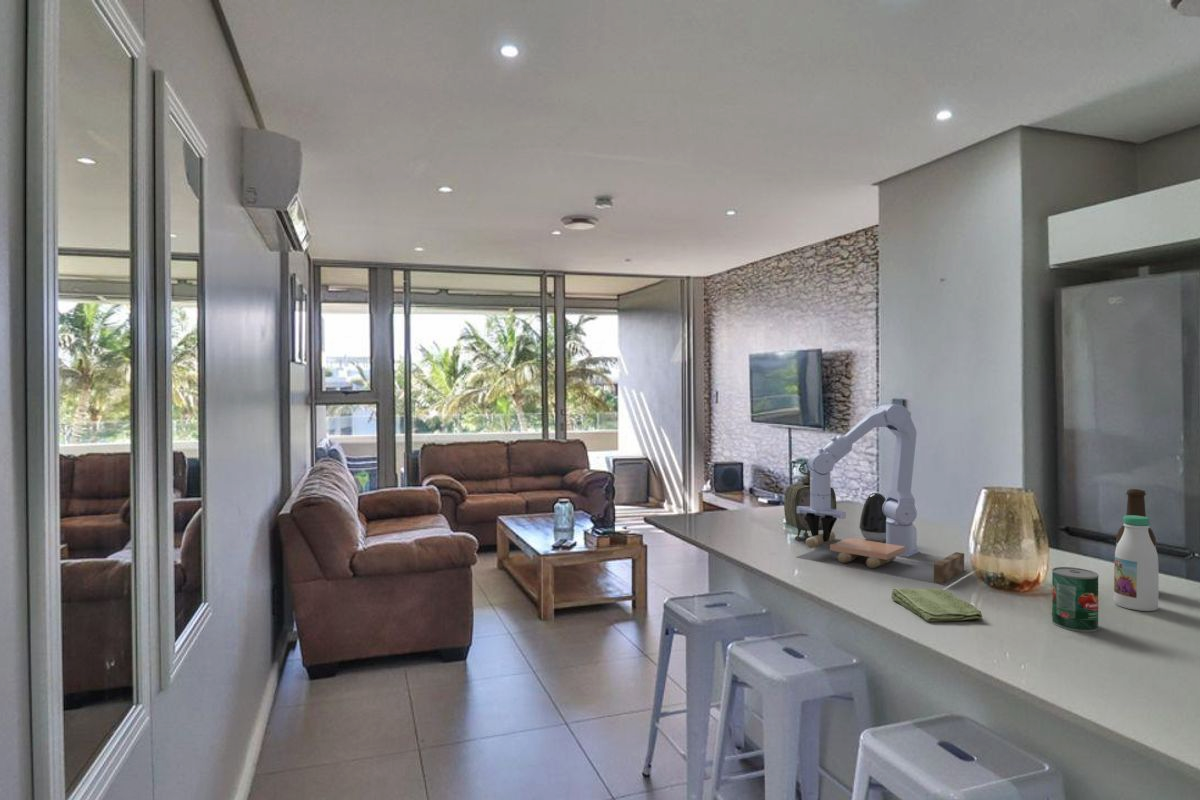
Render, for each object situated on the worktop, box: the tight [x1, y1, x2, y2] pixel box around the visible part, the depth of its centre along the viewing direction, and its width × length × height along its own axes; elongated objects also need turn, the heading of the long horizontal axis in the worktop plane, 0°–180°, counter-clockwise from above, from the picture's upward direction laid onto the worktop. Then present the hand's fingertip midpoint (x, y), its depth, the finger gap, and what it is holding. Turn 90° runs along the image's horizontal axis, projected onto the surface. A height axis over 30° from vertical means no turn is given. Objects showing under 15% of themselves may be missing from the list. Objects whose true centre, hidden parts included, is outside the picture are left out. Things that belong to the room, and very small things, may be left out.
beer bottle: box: [1115, 488, 1157, 549], centre depth 164 cm, size 8×8×24 cm
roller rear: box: [838, 552, 862, 563], centre depth 193 cm, size 14×3×3 cm, turn 135°
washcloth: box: [891, 587, 983, 623], centre depth 152 cm, size 13×18×3 cm
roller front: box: [866, 556, 897, 569], centre depth 188 cm, size 14×3×3 cm, turn 135°
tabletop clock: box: [783, 461, 837, 541], centre depth 222 cm, size 14×9×25 cm, turn 102°
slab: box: [829, 537, 905, 560], centre depth 191 cm, size 12×16×2 cm
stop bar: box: [933, 551, 965, 583], centre depth 176 cm, size 16×2×5 cm, turn 135°
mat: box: [796, 545, 968, 586], centre depth 189 cm, size 18×40×1 cm, turn 45°
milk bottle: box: [1113, 515, 1160, 612], centre depth 152 cm, size 8×8×20 cm
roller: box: [805, 530, 836, 548], centre depth 200 cm, size 13×3×3 cm, turn 135°
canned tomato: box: [1051, 566, 1100, 633], centre depth 141 cm, size 8×8×11 cm
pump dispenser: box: [858, 492, 886, 543], centre depth 218 cm, size 10×10×15 cm
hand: (820, 540), depth 201 cm, fingers closed on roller, 3 cm apart
